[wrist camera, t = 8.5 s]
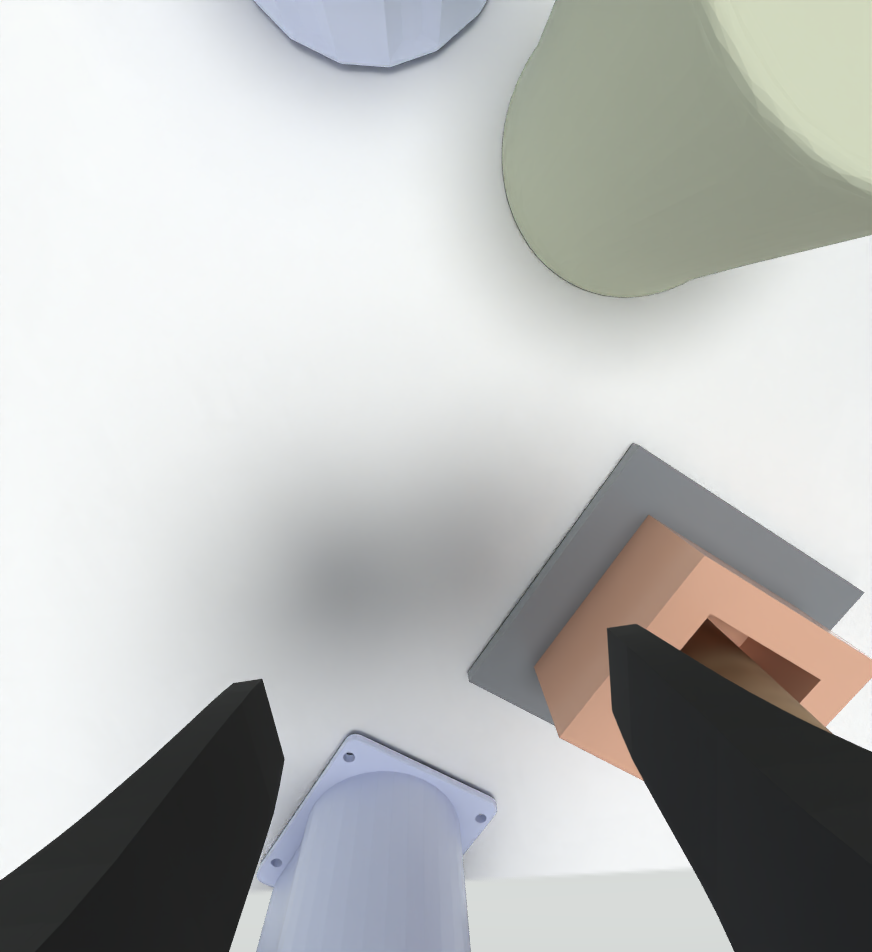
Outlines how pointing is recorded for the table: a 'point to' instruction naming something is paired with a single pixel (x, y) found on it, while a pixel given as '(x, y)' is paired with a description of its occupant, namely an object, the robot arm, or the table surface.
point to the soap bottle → (372, 27)
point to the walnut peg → (741, 669)
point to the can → (690, 137)
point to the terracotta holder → (667, 605)
